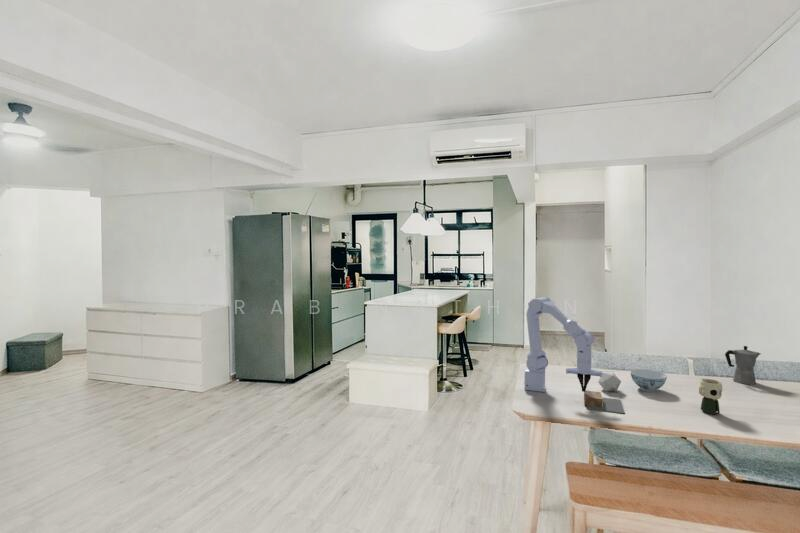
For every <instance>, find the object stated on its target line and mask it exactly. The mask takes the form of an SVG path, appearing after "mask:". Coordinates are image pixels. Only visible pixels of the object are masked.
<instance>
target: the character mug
mask: <svg viewBox="0 0 800 533" xmlns="http://www.w3.org/2000/svg"><path fill="white" fill-rule="evenodd" d="M722 392H723V384H722V382H721V381H720V380H718V379H713V378H701V379H700V382H699V387H698V394H699V395H700V396H702V398H701V404H700V405H701V406H700V410H701V411H702V412H705V413H707V414H711V415H716V414H720V403H719V399H721V398H722V395H723V394H722Z"/></svg>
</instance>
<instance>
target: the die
mask: <svg viewBox="0 0 800 533" xmlns="http://www.w3.org/2000/svg"><path fill="white" fill-rule="evenodd" d="M599 377H600V376H599ZM597 383H598V384H599V386H601V388H602V389H603V390H604V391H605V392H617V391H618V389H619V388H620V385H621V383H622V381H621V379H620V378H619V377H618V375H616V373H615V372H602V377H600V378H599V380H598V382H597Z"/></svg>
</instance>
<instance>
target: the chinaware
mask: <svg viewBox="0 0 800 533" xmlns="http://www.w3.org/2000/svg"><path fill="white" fill-rule="evenodd" d="M629 373H630V376H631V380H632V381H633V383H634V384H635V385H636V386H637V387H639V390H641V391H643V392H646V393H655V392H656V391H657V390H659V389H660V388H662V387H663V386H664V385H665V383H666V381H667V378H668V375H667V374H665V373H664V372H662V371H659V370H653V369H646V368H645V369H644V368H635V369H631V370H630V371H629Z"/></svg>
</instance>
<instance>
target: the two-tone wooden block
mask: <svg viewBox="0 0 800 533" xmlns="http://www.w3.org/2000/svg"><path fill="white" fill-rule="evenodd" d="M602 397H603V394H602V392H601V391H595V390H586V391H585V392H583V401H584V406H587V405H588V406H596V407H603V398H604V397H603V398H602Z"/></svg>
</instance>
